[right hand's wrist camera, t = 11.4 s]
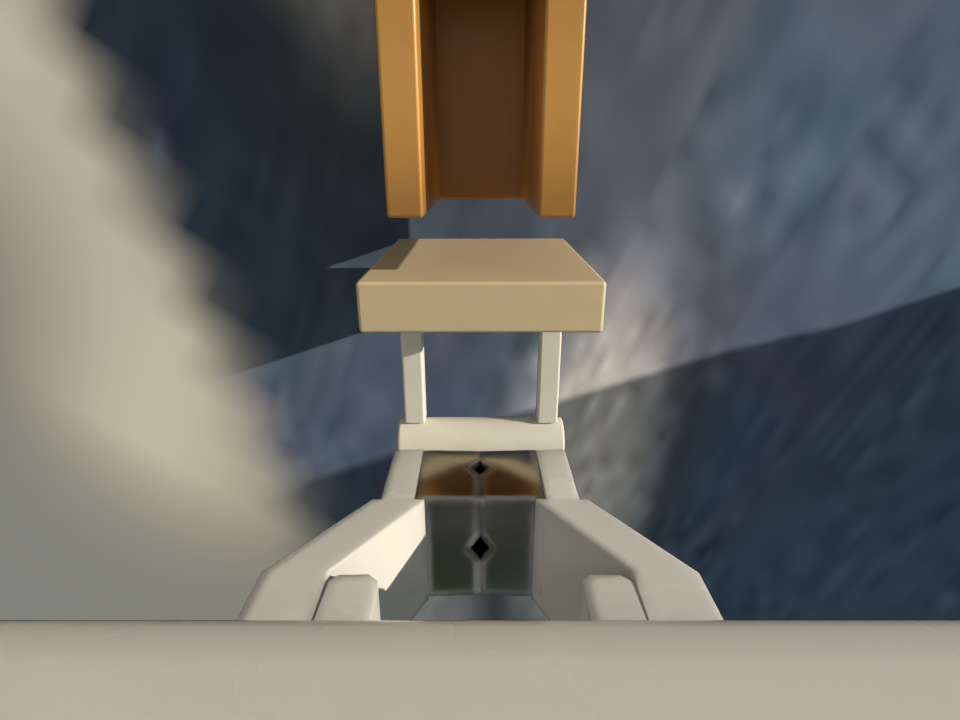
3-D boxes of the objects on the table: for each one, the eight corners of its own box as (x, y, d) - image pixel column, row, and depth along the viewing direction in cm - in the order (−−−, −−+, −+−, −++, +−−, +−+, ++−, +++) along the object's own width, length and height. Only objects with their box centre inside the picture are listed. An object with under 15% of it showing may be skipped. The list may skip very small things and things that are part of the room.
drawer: (555, 410, 21) (588, 523, 15) (406, 410, 21) (374, 524, 15) (602, -542, 13) (726, -1255, 6) (357, -541, 13) (230, -1249, 6)
